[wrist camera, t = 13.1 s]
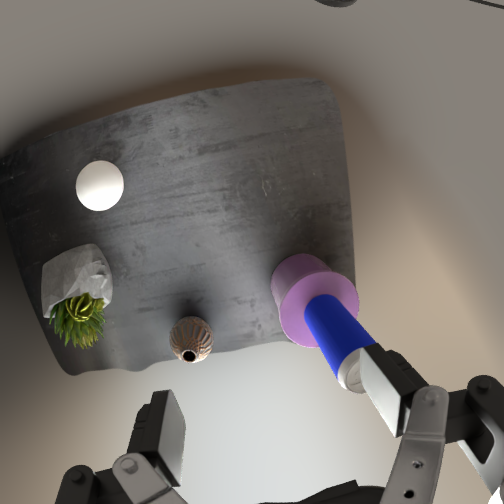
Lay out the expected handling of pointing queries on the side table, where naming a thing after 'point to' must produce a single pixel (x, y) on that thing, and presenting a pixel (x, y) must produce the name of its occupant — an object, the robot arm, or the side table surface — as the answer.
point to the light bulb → (99, 185)
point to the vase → (191, 339)
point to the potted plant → (77, 293)
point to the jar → (307, 293)
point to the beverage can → (338, 339)
